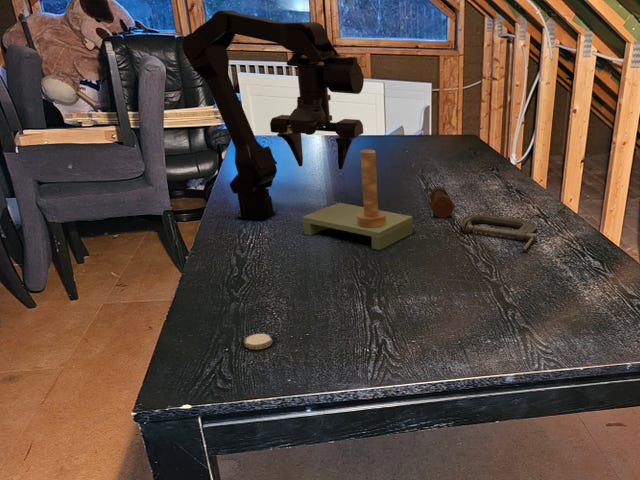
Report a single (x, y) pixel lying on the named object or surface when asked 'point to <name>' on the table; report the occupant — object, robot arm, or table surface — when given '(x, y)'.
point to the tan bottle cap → (258, 341)
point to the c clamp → (521, 234)
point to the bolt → (441, 202)
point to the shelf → (346, 220)
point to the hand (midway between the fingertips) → (320, 167)
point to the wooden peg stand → (370, 193)
